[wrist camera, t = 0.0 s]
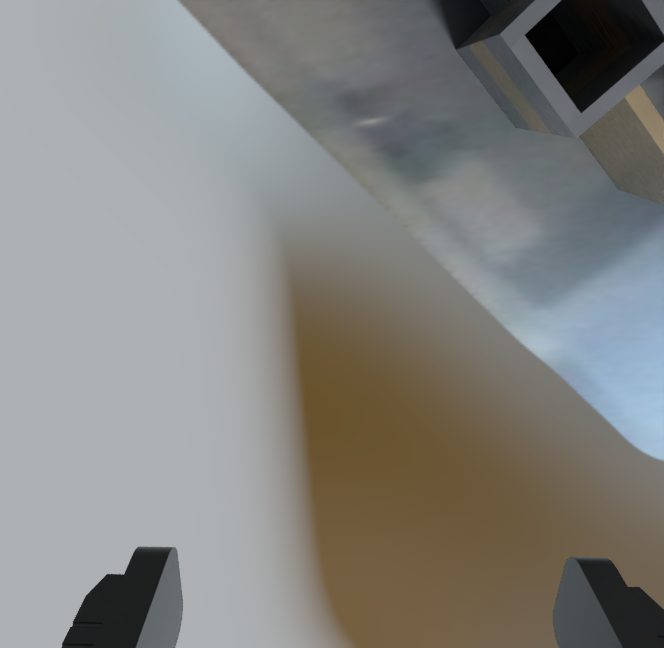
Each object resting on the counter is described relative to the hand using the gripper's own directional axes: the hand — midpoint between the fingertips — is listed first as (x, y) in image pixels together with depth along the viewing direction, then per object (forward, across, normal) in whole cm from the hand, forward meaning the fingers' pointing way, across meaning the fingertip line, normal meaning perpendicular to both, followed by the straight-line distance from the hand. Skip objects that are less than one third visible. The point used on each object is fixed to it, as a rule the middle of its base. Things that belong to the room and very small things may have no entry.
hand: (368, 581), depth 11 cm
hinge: (+29, -11, -12) cm, 33 cm away
